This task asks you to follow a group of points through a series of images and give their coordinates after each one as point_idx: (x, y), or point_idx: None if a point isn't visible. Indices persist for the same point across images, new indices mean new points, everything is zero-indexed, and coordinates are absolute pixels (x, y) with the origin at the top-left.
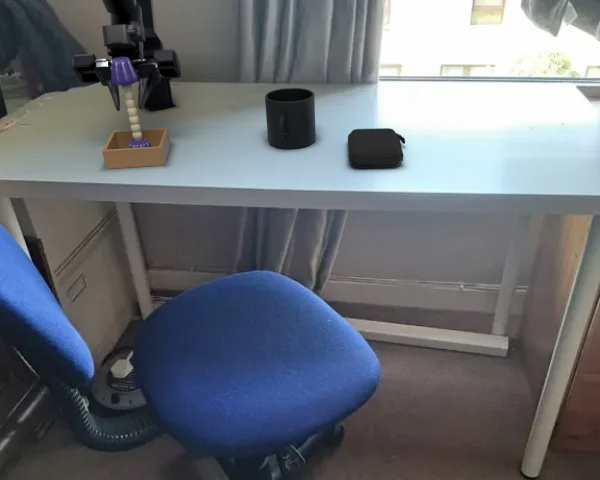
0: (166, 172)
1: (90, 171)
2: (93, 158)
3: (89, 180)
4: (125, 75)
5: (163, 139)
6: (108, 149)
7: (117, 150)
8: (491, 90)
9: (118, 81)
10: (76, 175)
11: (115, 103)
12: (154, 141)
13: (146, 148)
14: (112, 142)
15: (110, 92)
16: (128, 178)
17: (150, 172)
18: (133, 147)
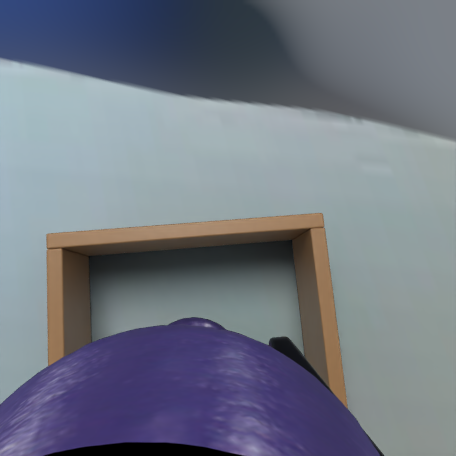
0: (61, 177)
1: (356, 213)
2: (391, 348)
3: (331, 133)
4: (45, 388)
5: (51, 343)
6: (311, 274)
7: (254, 218)
8: None
9: (228, 342)
10: (395, 181)
11: (299, 363)
12: None
13: (120, 229)
14: (323, 378)
15: (379, 451)
16: (195, 136)
17: (123, 183)
18: (210, 327)
